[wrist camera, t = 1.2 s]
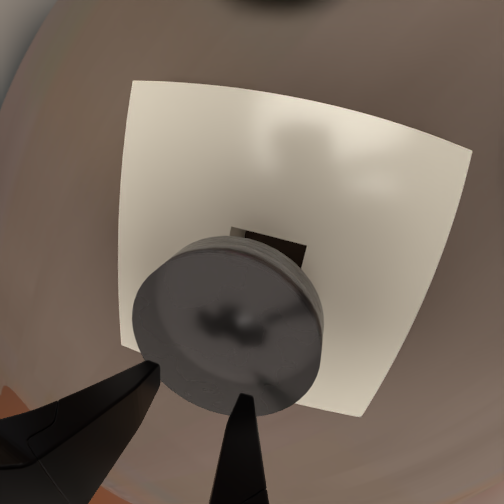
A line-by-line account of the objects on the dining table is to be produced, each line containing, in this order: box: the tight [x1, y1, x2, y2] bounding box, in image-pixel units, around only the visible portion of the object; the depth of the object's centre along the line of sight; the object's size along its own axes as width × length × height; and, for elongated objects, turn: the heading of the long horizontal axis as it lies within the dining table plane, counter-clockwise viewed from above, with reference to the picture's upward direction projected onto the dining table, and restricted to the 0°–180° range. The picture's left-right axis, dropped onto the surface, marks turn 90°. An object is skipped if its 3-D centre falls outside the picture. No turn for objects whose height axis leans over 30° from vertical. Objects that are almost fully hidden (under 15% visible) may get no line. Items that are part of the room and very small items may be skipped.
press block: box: [118, 81, 472, 417], centre depth 19 cm, size 18×18×4 cm
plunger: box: [132, 236, 324, 416], centre depth 14 cm, size 7×7×6 cm
